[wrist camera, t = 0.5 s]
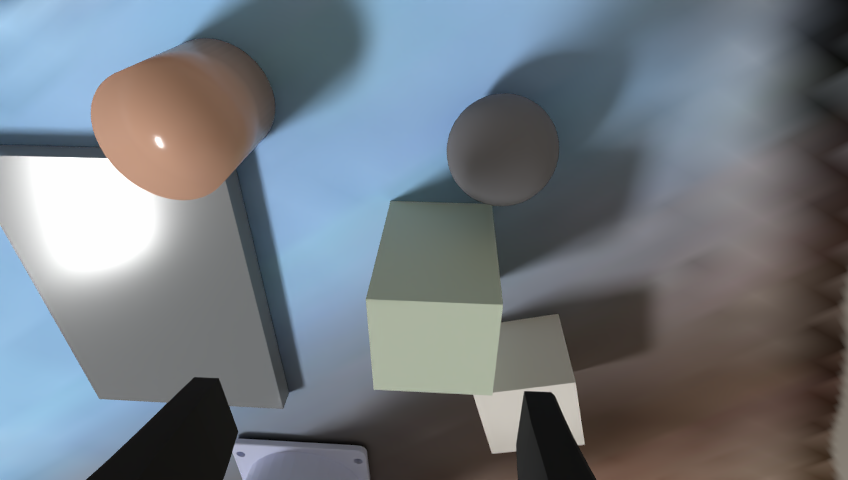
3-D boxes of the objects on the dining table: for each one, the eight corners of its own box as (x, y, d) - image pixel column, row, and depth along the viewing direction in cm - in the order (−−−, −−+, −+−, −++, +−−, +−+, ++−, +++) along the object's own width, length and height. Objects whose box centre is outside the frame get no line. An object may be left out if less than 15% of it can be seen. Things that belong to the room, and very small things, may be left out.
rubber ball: (542, 178, 18) (558, 228, 15) (446, 175, 18) (443, 224, 15) (556, 80, 16) (578, 116, 13) (449, 79, 16) (446, 114, 13)
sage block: (485, 283, 21) (492, 395, 16) (394, 280, 21) (373, 389, 16) (491, 203, 19) (502, 304, 14) (390, 200, 19) (366, 299, 14)
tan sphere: (283, 150, 18) (243, 202, 15) (181, 148, 18) (119, 198, 15) (264, 38, 16) (212, 69, 13) (148, 37, 16) (68, 67, 13)
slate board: (288, 393, 26) (283, 408, 25) (110, 383, 27) (99, 398, 26) (231, 150, 18) (220, 161, 18) (-18, 144, 19) (-40, 154, 18)
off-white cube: (567, 371, 24) (584, 444, 21) (487, 382, 25) (492, 453, 21) (557, 312, 22) (575, 382, 19) (471, 325, 23) (473, 395, 19)
